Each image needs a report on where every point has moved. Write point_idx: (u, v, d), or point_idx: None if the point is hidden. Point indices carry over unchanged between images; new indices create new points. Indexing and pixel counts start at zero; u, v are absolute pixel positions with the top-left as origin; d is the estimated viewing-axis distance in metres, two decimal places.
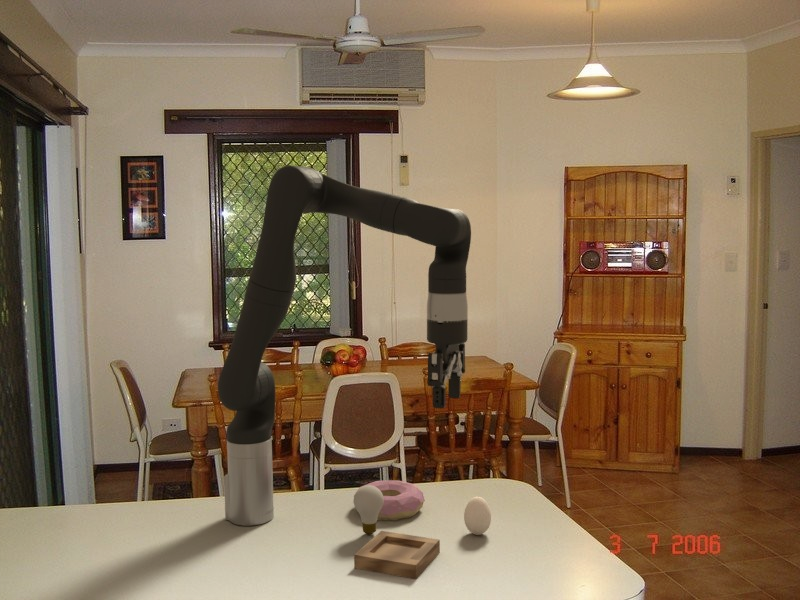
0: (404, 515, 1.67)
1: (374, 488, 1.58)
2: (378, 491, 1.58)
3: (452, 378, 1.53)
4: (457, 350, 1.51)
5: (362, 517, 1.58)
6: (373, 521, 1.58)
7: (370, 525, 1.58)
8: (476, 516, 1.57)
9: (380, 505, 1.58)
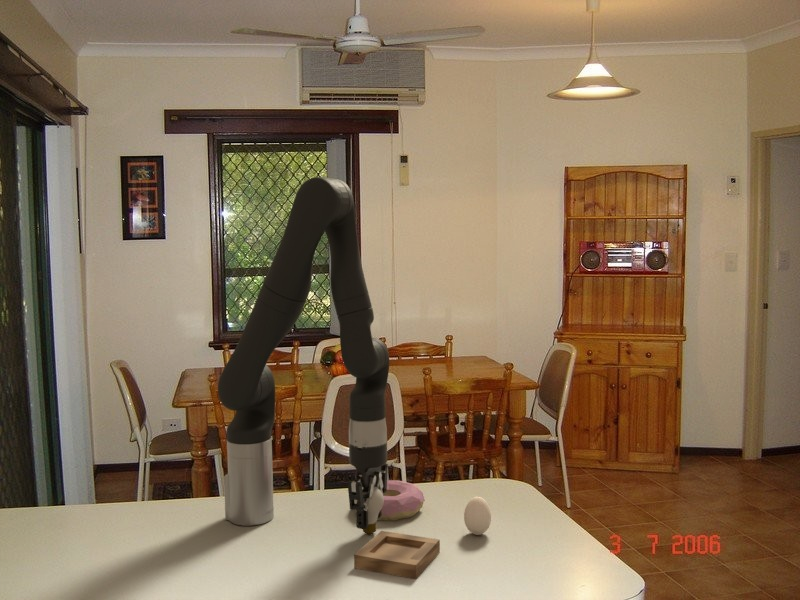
0: (404, 515, 1.67)
1: (374, 488, 1.58)
2: (378, 491, 1.58)
3: None
4: (379, 469, 1.61)
5: None
6: (373, 521, 1.58)
7: (370, 525, 1.58)
8: (476, 516, 1.57)
9: (380, 505, 1.58)
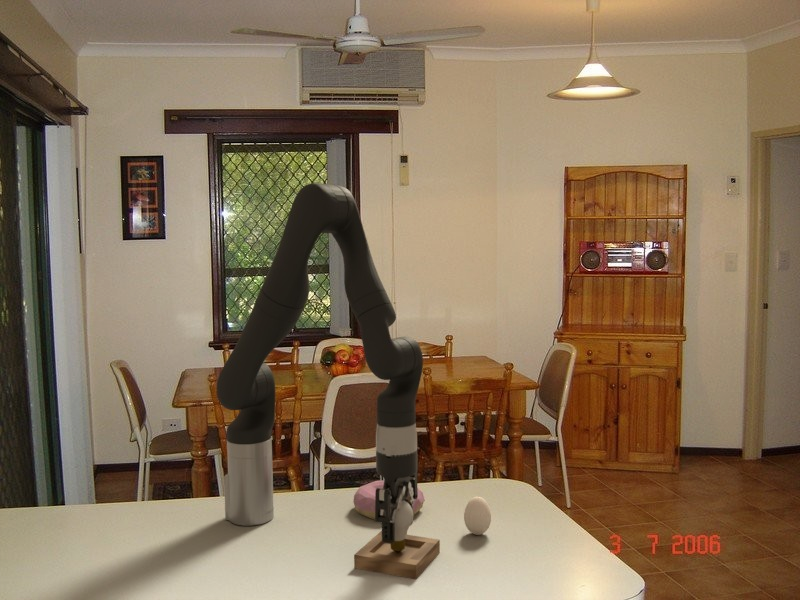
0: None
1: (403, 502, 1.46)
2: (407, 505, 1.46)
3: None
4: (408, 479, 1.48)
5: None
6: (402, 537, 1.46)
7: (399, 542, 1.46)
8: (476, 516, 1.57)
9: (410, 520, 1.45)
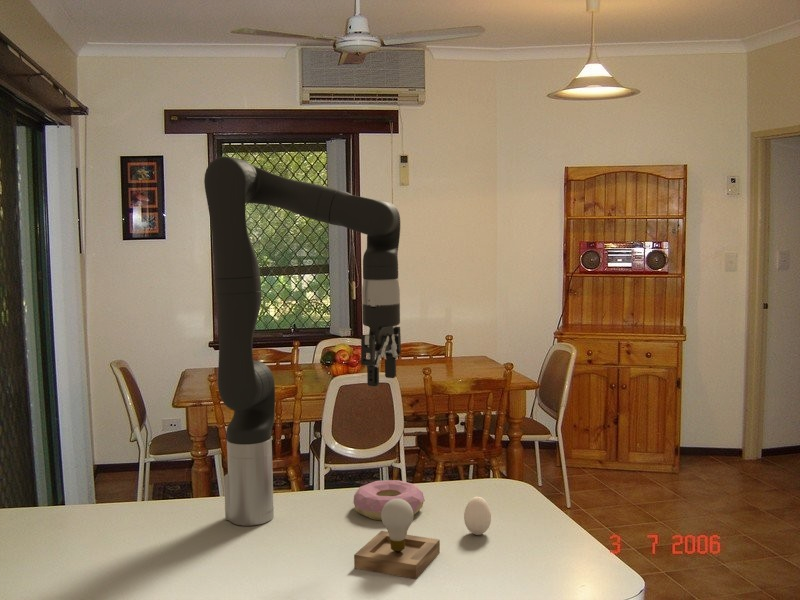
0: None
1: (403, 502, 1.46)
2: (407, 505, 1.46)
3: (388, 359, 1.65)
4: (392, 333, 1.62)
5: (390, 533, 1.46)
6: (402, 537, 1.46)
7: (399, 542, 1.46)
8: (476, 516, 1.57)
9: (410, 520, 1.45)
